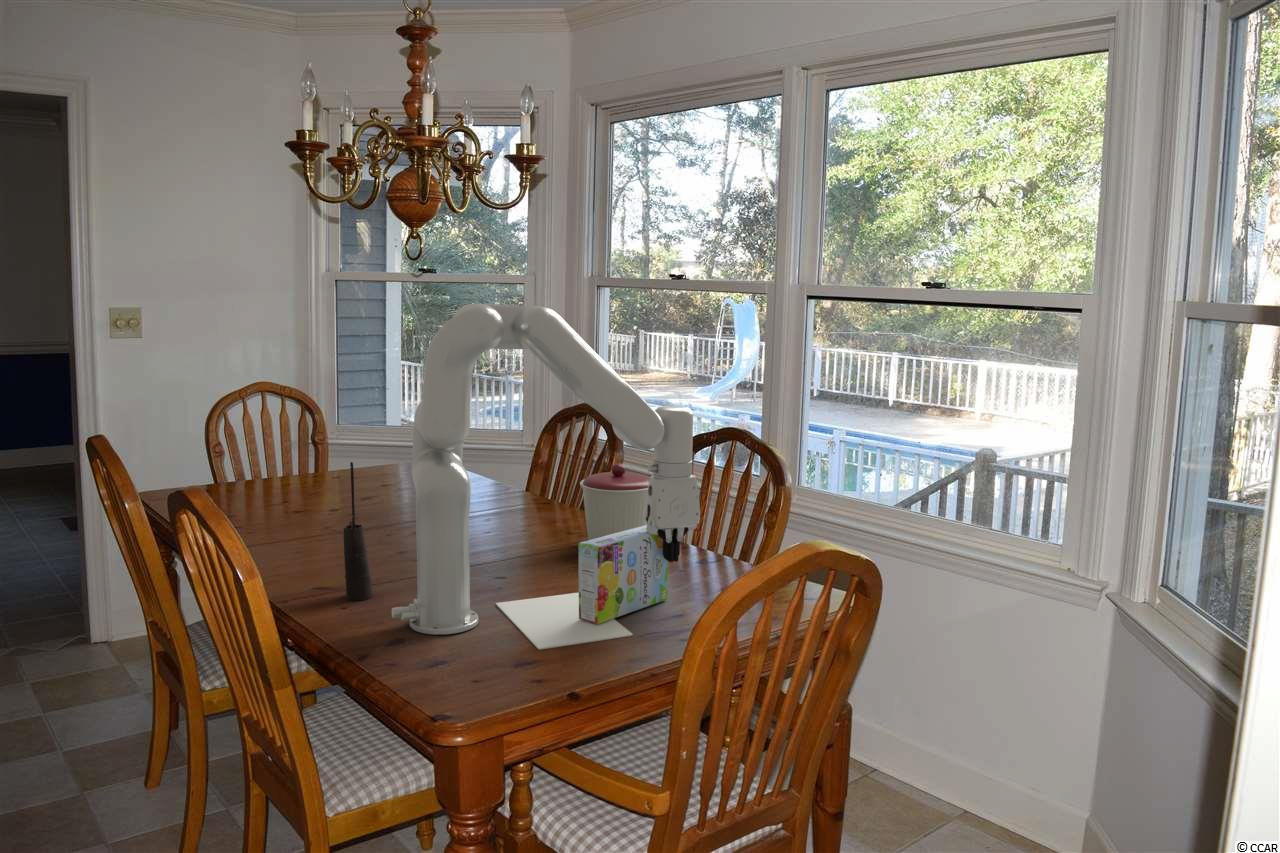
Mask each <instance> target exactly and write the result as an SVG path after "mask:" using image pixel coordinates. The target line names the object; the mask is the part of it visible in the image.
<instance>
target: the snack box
mask: <svg viewBox="0 0 1280 853" xmlns="http://www.w3.org/2000/svg"><path fill="white" fill-rule="evenodd" d="M646 527H647V525H645V526H641V527H637V528H634V529H630V530H626V531H622V532H618V533H614V534H611V535H607V536H603V537H599V538H595V539H592V540H589V539H588V540H583V541H580V542H579V543H578V545H577V546H578V551H577V552H578V593H579V619H582V620H585V621H589V622H593V623H596V624H600V623H603V622H606V621H608V620H611V619H617V618H618V617H622V616H625V615H627V614H631V613H632V612H633V613H634V612H636V611H639V610H641V609H644V608H647V607H649V606H652V605H655V604H659V603H661V602H665V601H666V600H668V593H669V592H668V576H669V575H668V574H669V572H668V568H669V566H668V562H669V561H667V560H666V559H664V556H663V540H662V539H661V538H660V537H659V536H658V535H656V534H650V533H648V532H646Z"/></svg>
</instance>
